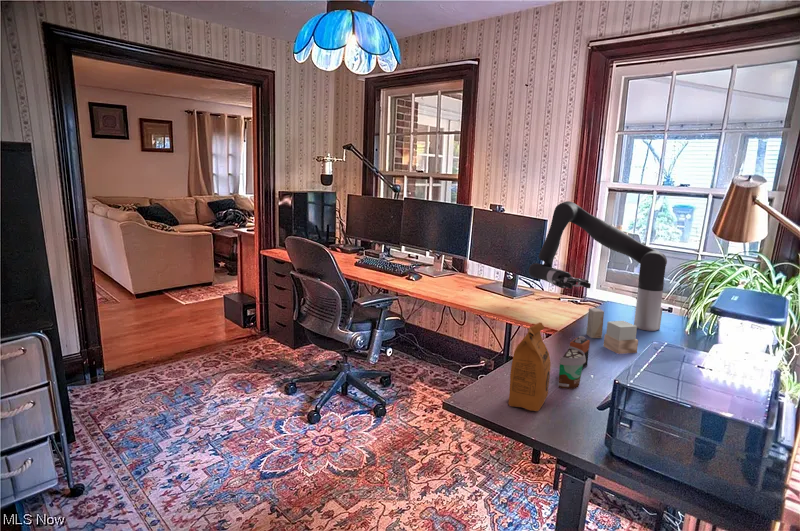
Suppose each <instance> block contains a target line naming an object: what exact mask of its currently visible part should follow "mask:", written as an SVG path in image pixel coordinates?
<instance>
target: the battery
mask: <svg viewBox="0 0 800 531" xmlns="http://www.w3.org/2000/svg"><path fill="white" fill-rule="evenodd" d="M569 346H571V347H575V348H578V349H580V350H582V351H583V352H584V354H585V358H586V362H585V363H584V364H583V367H582V370H583V369H584V368H586V367H587V366H588V364H589V363H588V361H589V353H590V352H589V350H590V339H587V338H586V337H585V336H583V335H580V336H578V337H575V339H573V340H571V341H570V342H569Z"/></svg>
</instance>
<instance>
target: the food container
mask: <svg viewBox="0 0 800 531" xmlns="http://www.w3.org/2000/svg"><path fill="white" fill-rule="evenodd" d="M567 348H568V349H567V351H566V352H564V354H563V355H562V356H560V358H559V363H558V364H559V368H558V369H559V370H558V383H557V384H558V386H557V388H558V389H562V390H563V389H564V390H574V389H575V390H576V389H577V388H579V386H580V382H581V376H582V372H583V369H582V367H583V364H584V363H585V362H586V358H585V354H584V352H583V351H582V350H580V349H578V348H575V347H571V346H570V345H568V347H567Z"/></svg>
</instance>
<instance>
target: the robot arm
mask: <svg viewBox="0 0 800 531" xmlns="http://www.w3.org/2000/svg"><path fill="white" fill-rule="evenodd" d="M569 223H571V224H574V225H576V226H578V227H580V228H581V229H583V231H585V232H586V233H587V234H588V236H590V237H591V238H592V239H593V240H594V241H595V242H597V243H599V244H600V245H602V246H604V247H605V248H606V249H607V248H608V249H610V250H612V251H614V252H617V253H619V254H623V255H625V256H627V257H629V258H631V259H632V260H635V262H637V263H638V264H639V271H638V272H639V273H638V288H637V297H636V303H635V314H634V321H633V323H634V324H633V325H635V326H637V330H643V331H648V332H649V331H650V332H651V331H652V332H656V331H658V330H661V325H662V324H661V322H662V315H663V309H664V308H663V307H662V300H663V292H664V285H665V273H666V266H667V264H668V260H667V257H666V255H665V254H664V253H663V252H661V251H659V250H658V249H657V250H656V249H654V248H652V247H650V246H648V245H645V244H643V243H641V242H639V241H638V240H636V239H635V238H634V237H632V236H631V235H629V234H627V233H625V231H623V230H621V229H619V228H618V227H616V226H614V225H612V224H610V223H608V222H607V221H605V220H602V219H601V218H599V217H597V216H595V215H593V214H591V213H589V212H588V211H587V210H585V209H583V207H581V206H580V205H578V204H576V203H575V202H573V201H568V200H567V201H563V202H560V203H559V204H557V205H556V206H555V208H554V211H553V214H552V219H551V223H550V227H549V229H548V233H547V235H546V238H545V240H544V242H543V245H542V247H541V249H540V251H539V253H538V259H539V260H540V261H542V262H543V263H537V262H535V263H532V264H531V265H529V268H528V273H529V275H530V277H532V278H534V279H538V280H543V281H545V282H547V283H549V284H551V285H553V286H556V287H558V288H561V289H569V290H572V289H573V287H578V288H579V287H583V288H586V289H590V288H591V285H592V284H591V283H590V281H589V280H587V279H584V278H581V277H578V278H577V277H573V276H572V275H571V273H570V272H568V271H565V270H562V269H559V268H554V267H553V263H554V259H555V257H556V255H557V252H558V250H559V246H560V243H561V239H562V235H563V234H564V231H565V229H566V227H567V226H568V224H569Z"/></svg>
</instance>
